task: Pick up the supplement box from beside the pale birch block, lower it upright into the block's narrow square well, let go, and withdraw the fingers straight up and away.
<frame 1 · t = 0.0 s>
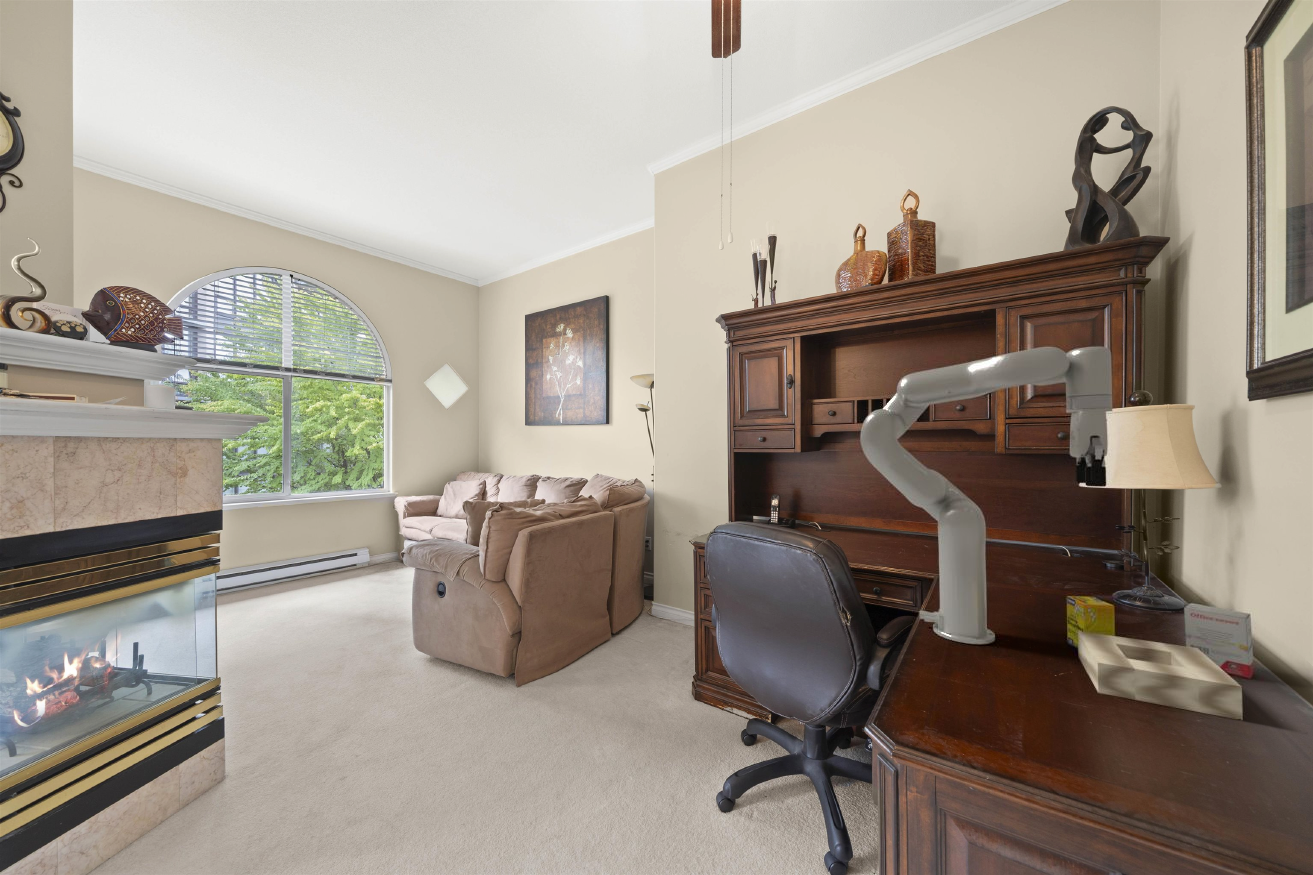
hand: (1090, 484, 107), 37 cm above the table, tool pointing down, fingers open, 9 cm apart
well block: (1149, 684, 94), on the table
supplement box: (1090, 650, 110), on the table
ink box: (1219, 669, 100), on the table
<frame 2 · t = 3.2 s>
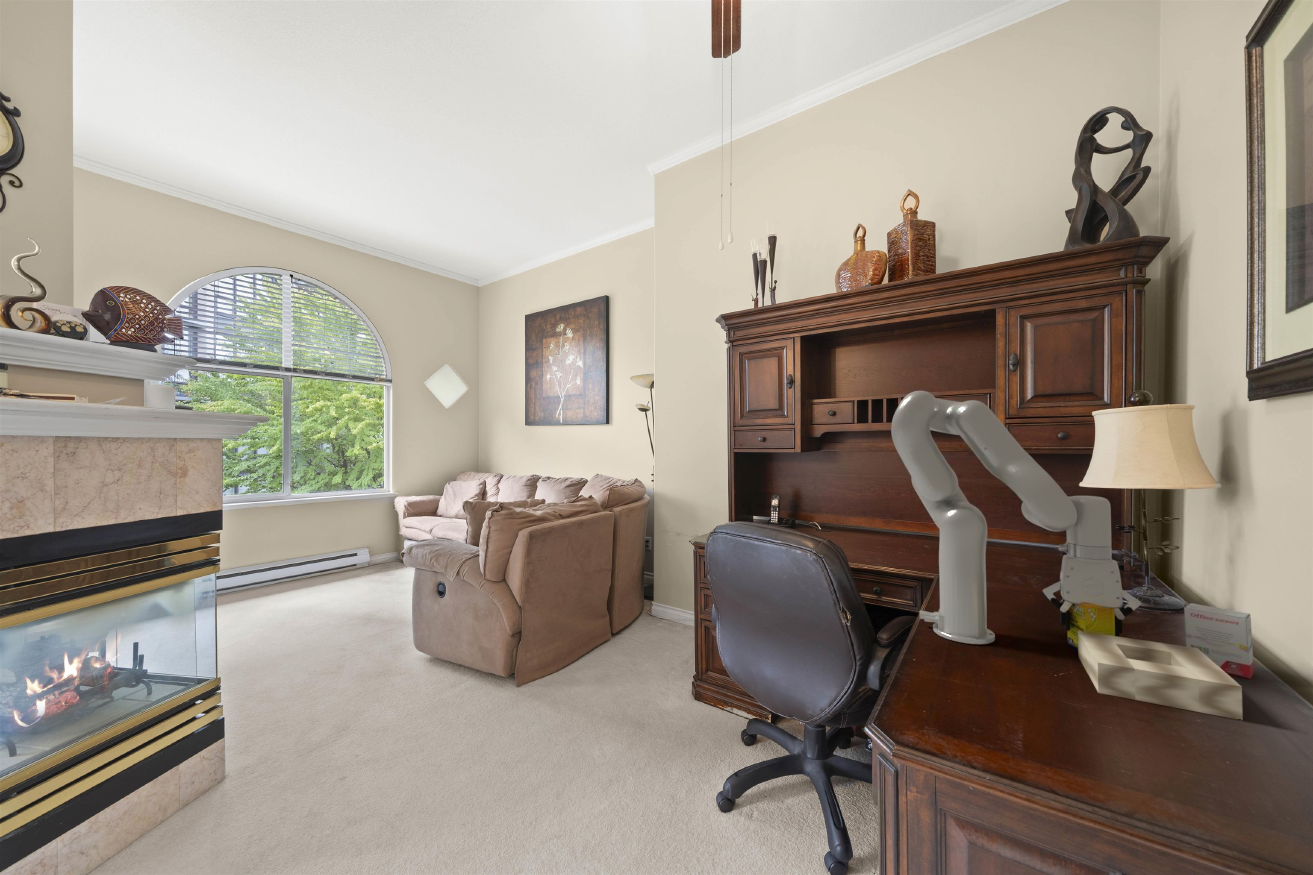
hand: (1090, 631, 110), 4 cm above the table, tool pointing down, fingers closed on supplement box, 7 cm apart
supplement box: (1090, 650, 110), on the table, touching gripper
everything else where it was.
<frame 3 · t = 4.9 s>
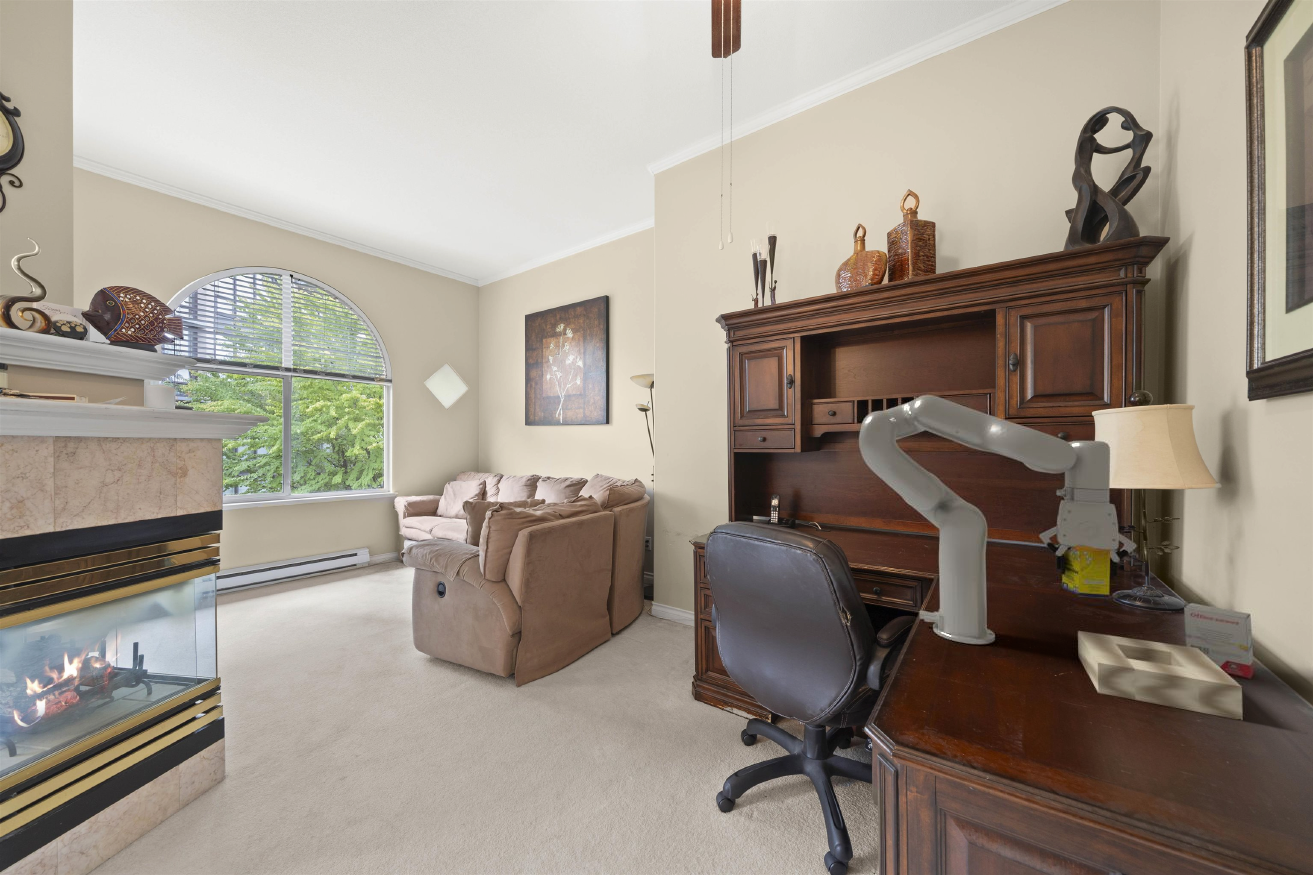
hand: (1085, 575, 111), 16 cm above the table, tool pointing down, fingers closed on supplement box, 7 cm apart
supplement box: (1084, 594, 111), point 12 cm above the table, touching gripper
everything else where it was.
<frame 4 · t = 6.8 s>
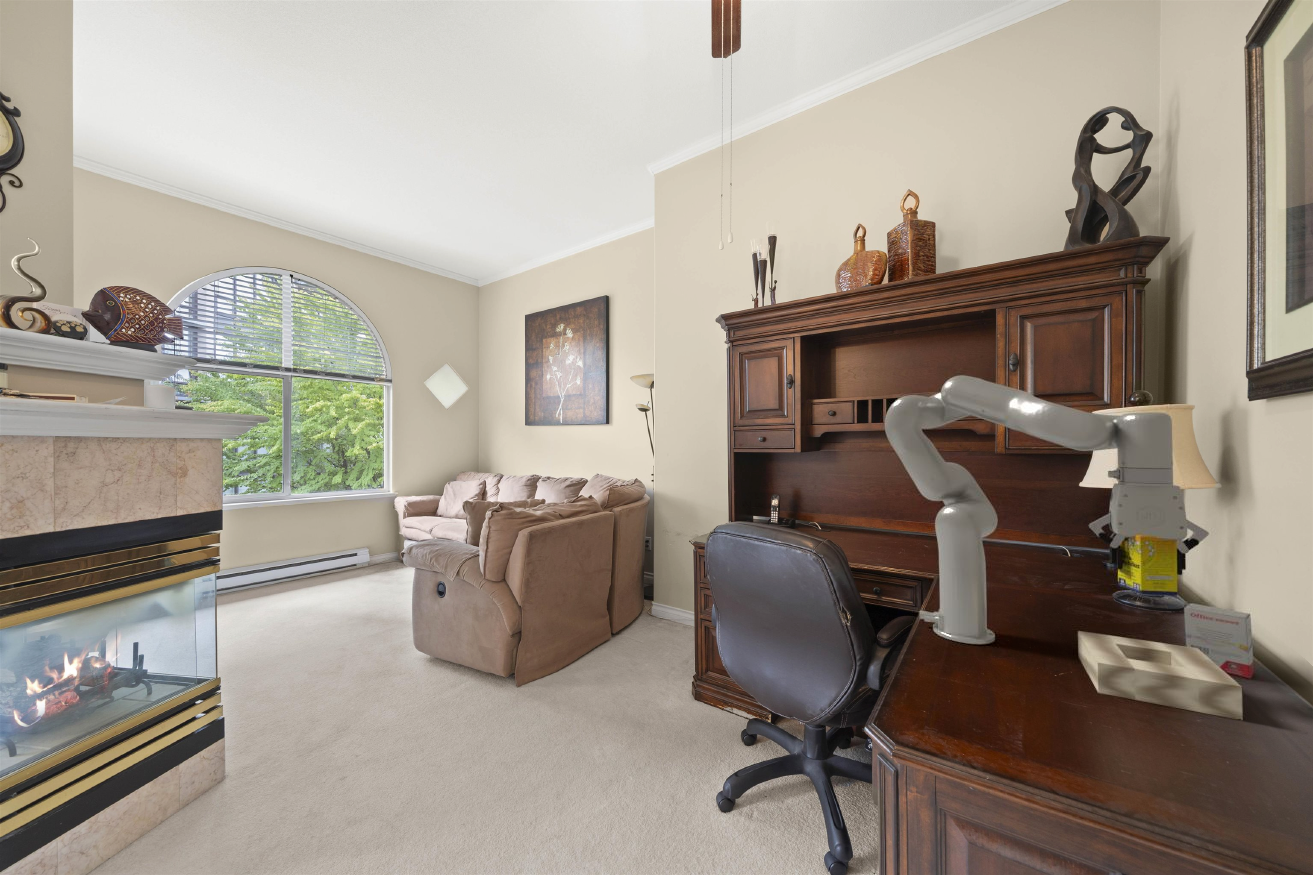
hand: (1146, 569, 95), 22 cm above the table, tool pointing down, fingers closed on supplement box, 7 cm apart
supplement box: (1146, 591, 94), point 17 cm above the table, touching gripper
everything else where it was.
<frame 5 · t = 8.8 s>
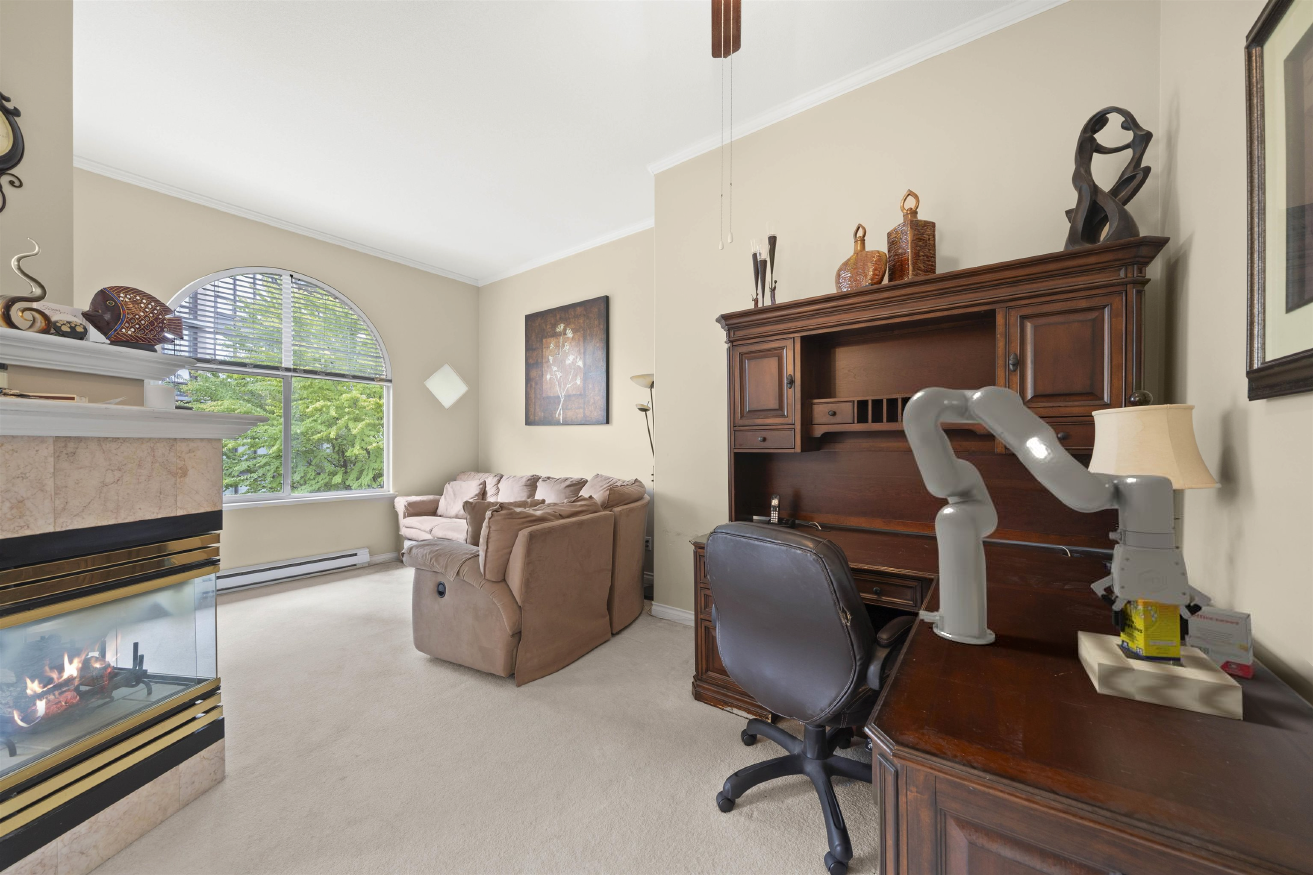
hand: (1149, 633, 94), 10 cm above the table, tool pointing down, fingers closed on supplement box, 7 cm apart
supplement box: (1149, 655, 94), point 5 cm above the table, touching gripper
everything else where it was.
when the fingers open (7 cm above the table, at t = 10.4 s): supplement box drops 2 cm, resting on well block.
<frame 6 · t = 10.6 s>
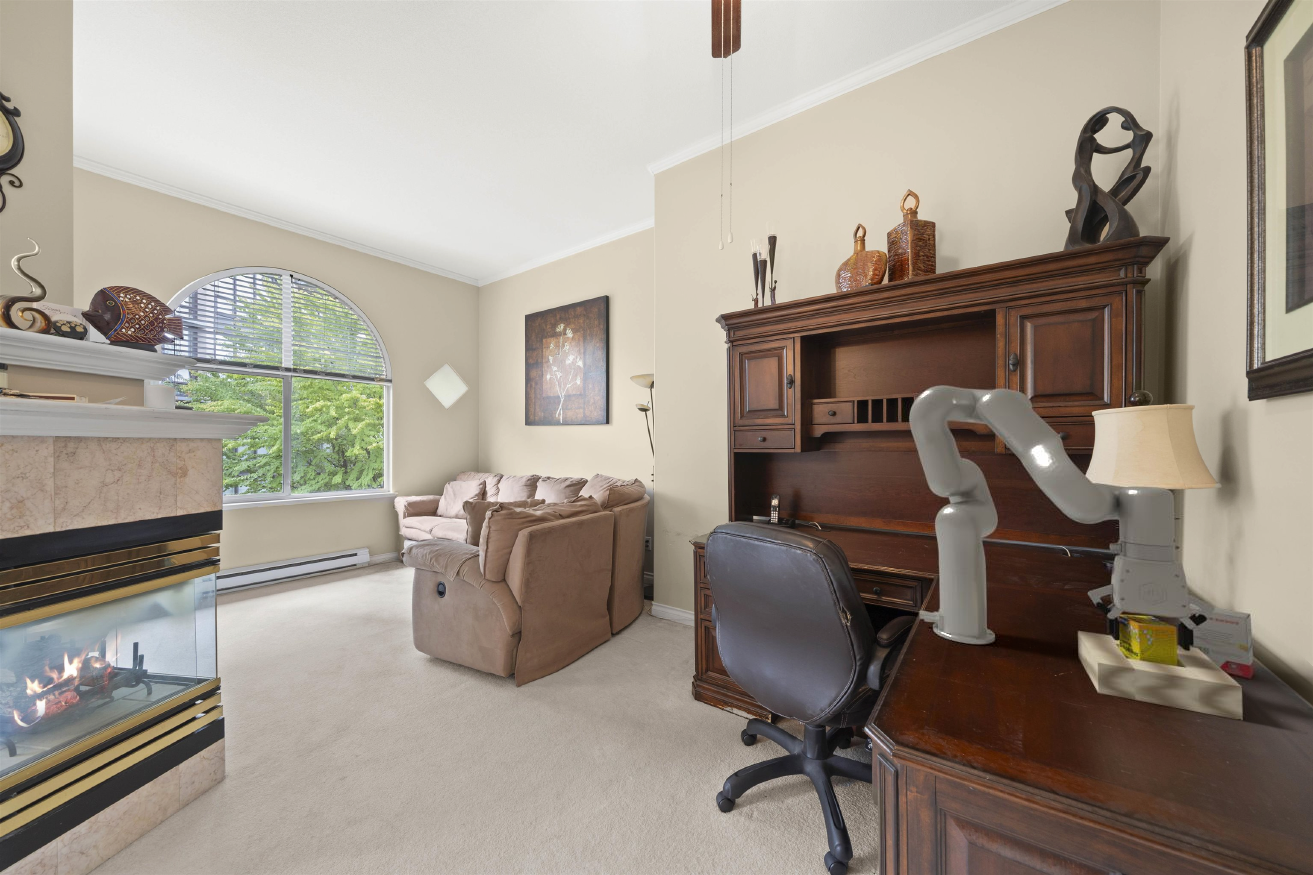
hand: (1148, 642, 94), 8 cm above the table, tool pointing down, fingers open, 9 cm apart
supplement box: (1147, 679, 94), point 1 cm above the table, touching well block
everything else where it was.
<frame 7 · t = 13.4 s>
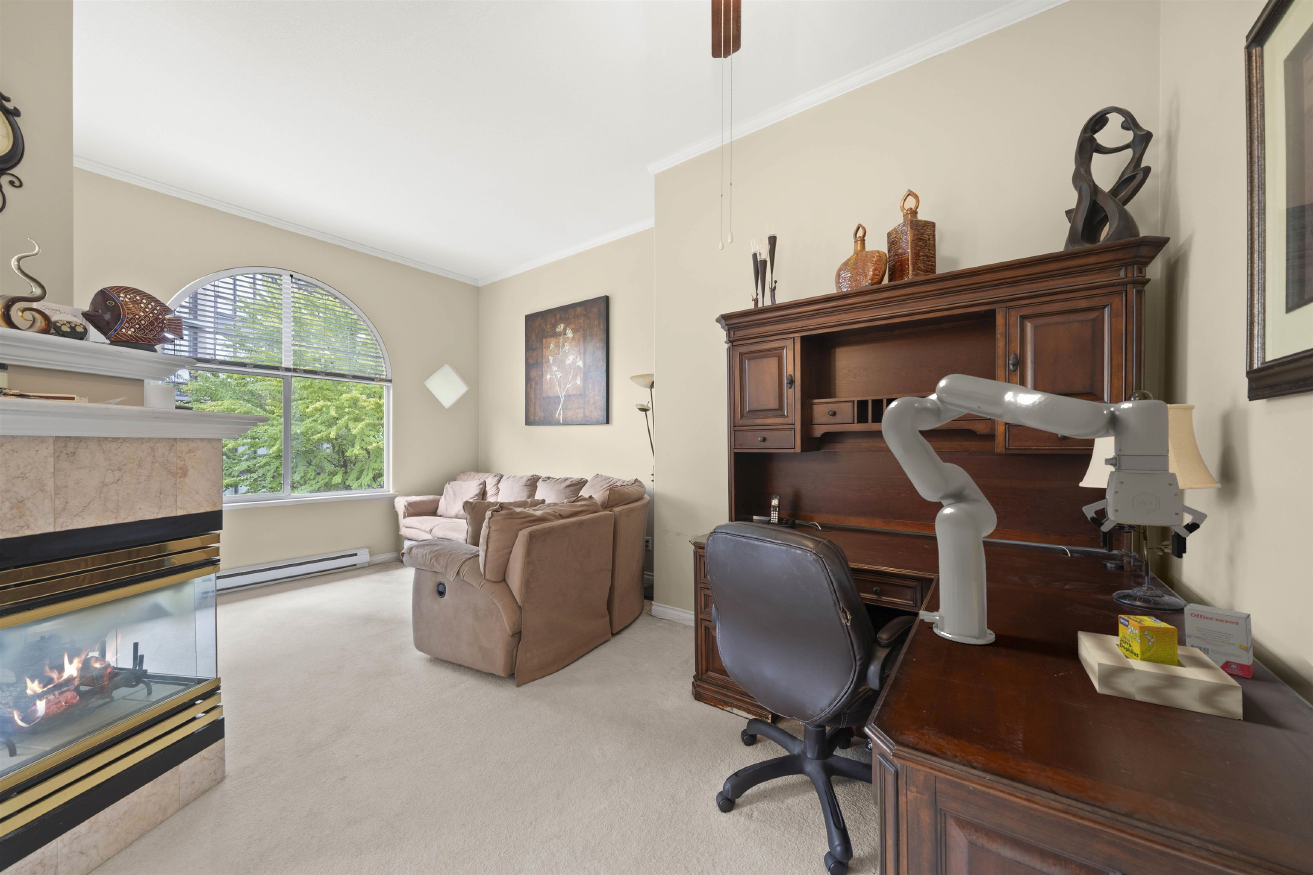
hand: (1141, 553, 95), 24 cm above the table, tool pointing down, fingers open, 9 cm apart
nothing on the table moved.
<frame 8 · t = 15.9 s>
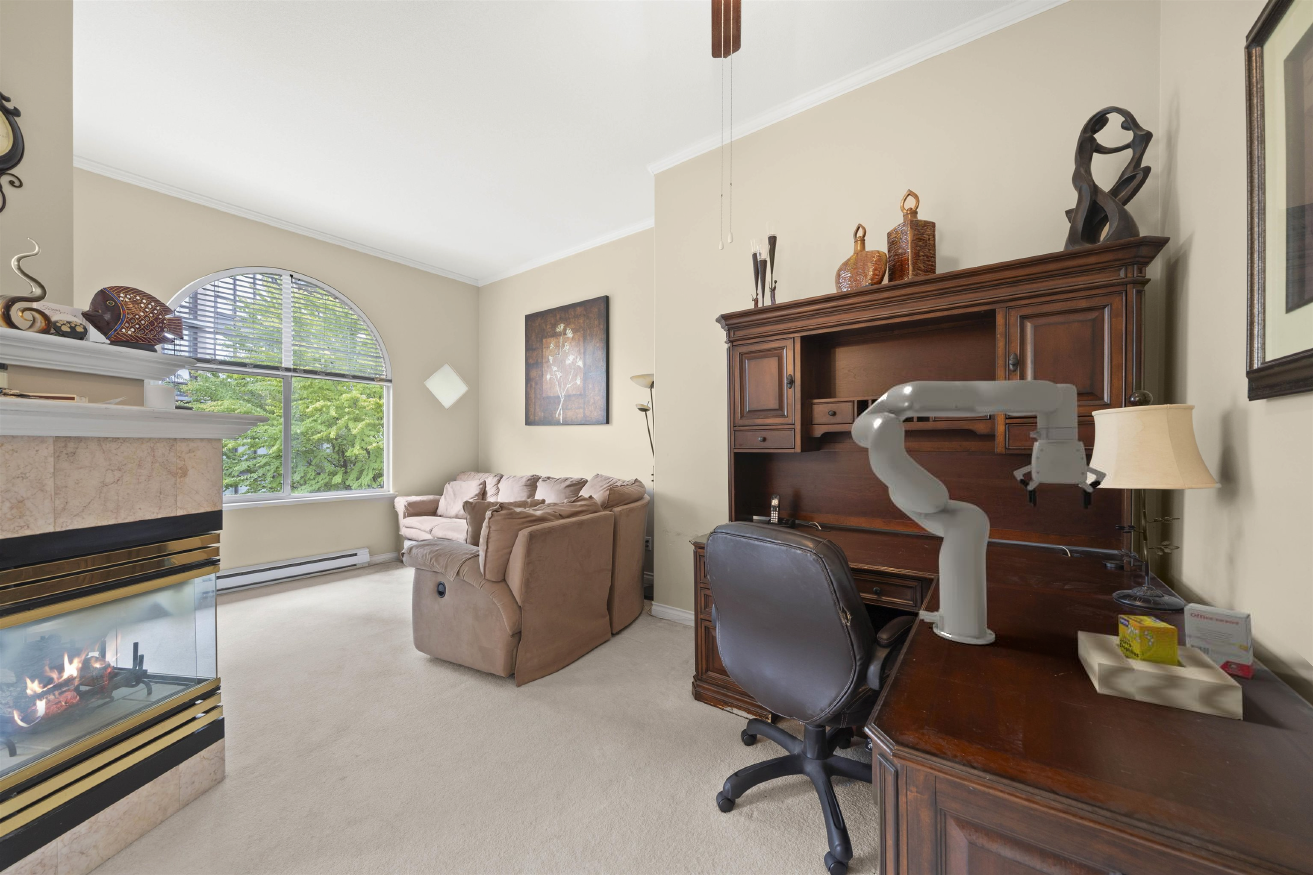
hand: (1058, 507, 119), 30 cm above the table, tool pointing down, fingers open, 9 cm apart
nothing on the table moved.
at the end: supplement box 0.2 cm off-centre on the well block, point 0.8 cm above the well block's base; supplement box tilted 0°; the gripper is holding nothing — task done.
